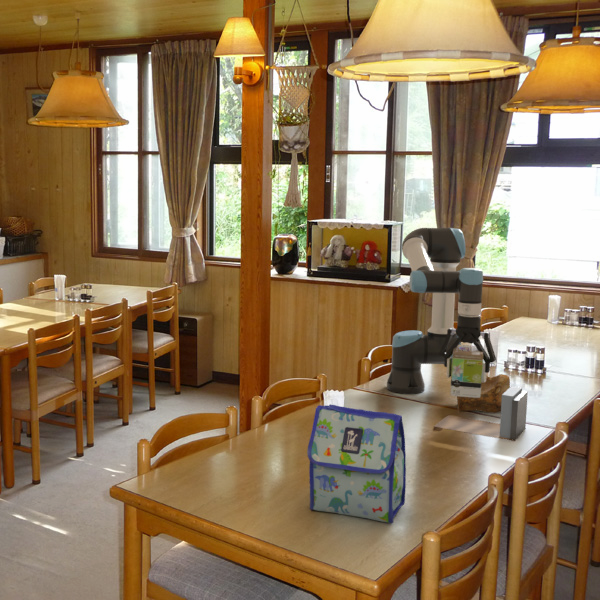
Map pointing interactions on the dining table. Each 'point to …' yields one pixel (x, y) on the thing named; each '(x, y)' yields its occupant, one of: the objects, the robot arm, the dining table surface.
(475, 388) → the tea box
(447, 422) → the shelf board
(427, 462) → the dining table surface
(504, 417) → the grey upright block
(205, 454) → the dining table surface
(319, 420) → the lunch bag
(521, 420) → the gray square slab
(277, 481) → the dining table surface
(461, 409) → the rough brown rock
